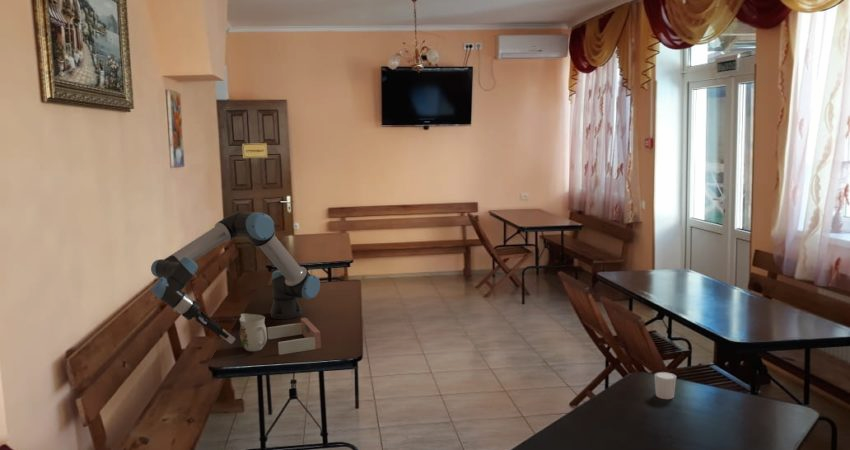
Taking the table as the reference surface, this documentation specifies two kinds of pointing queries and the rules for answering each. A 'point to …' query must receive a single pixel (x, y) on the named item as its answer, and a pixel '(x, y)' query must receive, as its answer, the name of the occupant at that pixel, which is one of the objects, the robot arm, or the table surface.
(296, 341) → the deck bay
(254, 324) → the pitcher
